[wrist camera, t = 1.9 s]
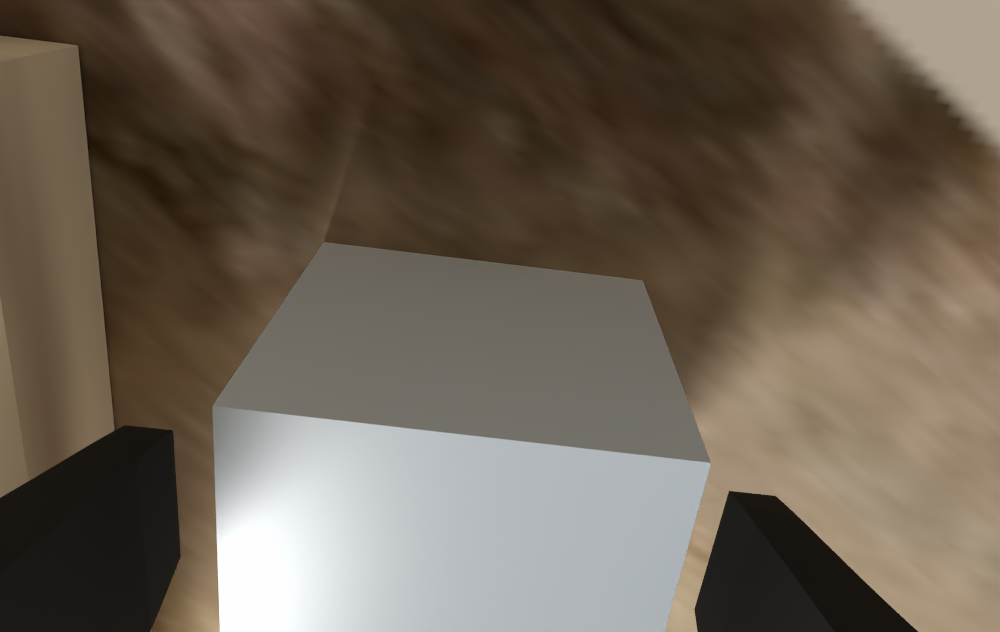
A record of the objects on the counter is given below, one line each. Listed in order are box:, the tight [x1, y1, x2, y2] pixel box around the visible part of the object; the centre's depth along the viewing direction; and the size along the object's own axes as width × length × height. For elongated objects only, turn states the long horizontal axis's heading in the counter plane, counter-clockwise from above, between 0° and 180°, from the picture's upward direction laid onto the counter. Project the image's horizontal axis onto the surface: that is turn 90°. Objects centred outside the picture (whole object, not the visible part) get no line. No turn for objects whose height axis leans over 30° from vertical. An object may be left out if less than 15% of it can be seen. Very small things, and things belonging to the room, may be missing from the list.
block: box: [212, 242, 711, 632], centre depth 11 cm, size 5×5×5 cm
